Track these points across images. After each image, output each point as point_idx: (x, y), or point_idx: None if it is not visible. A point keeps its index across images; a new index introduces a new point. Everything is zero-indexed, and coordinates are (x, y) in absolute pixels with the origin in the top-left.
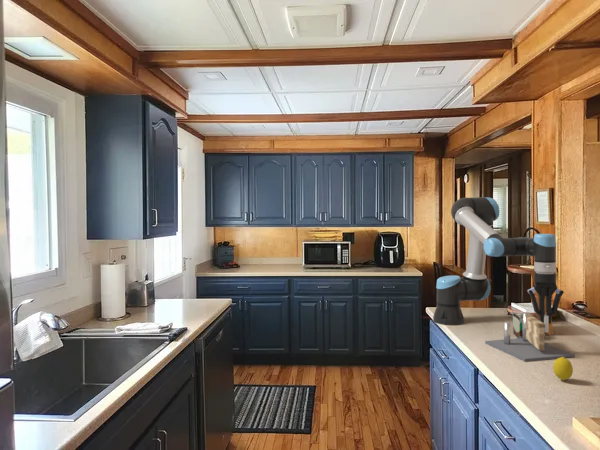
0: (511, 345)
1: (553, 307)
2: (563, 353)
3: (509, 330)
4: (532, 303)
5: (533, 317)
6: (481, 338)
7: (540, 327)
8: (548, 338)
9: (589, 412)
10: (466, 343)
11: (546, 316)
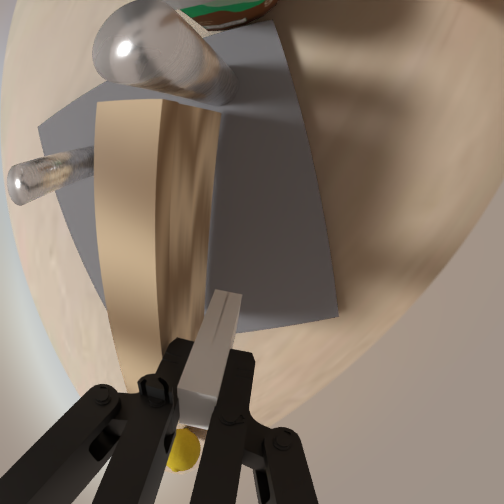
0: None
1: (282, 491)
2: (299, 303)
3: (56, 189)
4: (36, 452)
5: (139, 246)
6: (53, 53)
7: None
8: (391, 15)
9: (182, 471)
10: (3, 144)
11: (196, 423)
